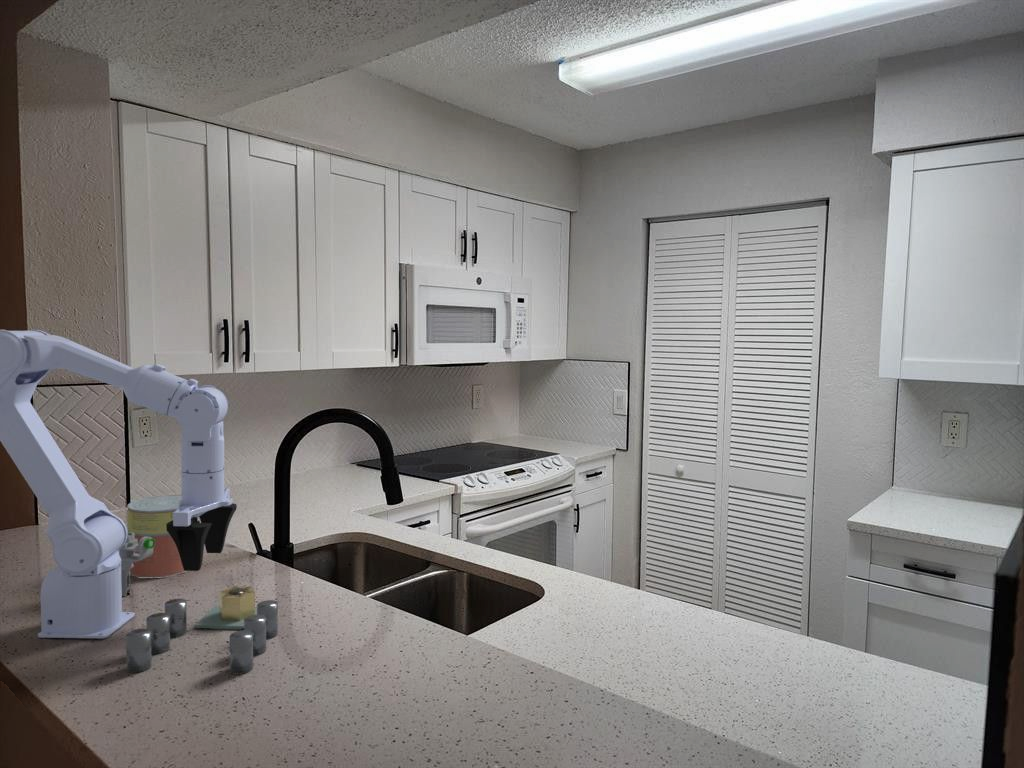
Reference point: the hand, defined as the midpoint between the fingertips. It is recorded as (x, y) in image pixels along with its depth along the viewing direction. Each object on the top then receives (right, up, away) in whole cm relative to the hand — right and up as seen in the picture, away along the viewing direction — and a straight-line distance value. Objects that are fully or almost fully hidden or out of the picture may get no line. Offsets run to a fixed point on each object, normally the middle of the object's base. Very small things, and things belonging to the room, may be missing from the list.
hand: (203, 561), depth 100 cm
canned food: (-18, -8, +23) cm, 30 cm away
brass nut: (+4, -9, +3) cm, 10 cm away
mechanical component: (-17, -8, +10) cm, 22 cm away
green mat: (+4, -9, +2) cm, 10 cm away
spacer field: (+4, -10, -8) cm, 13 cm away
